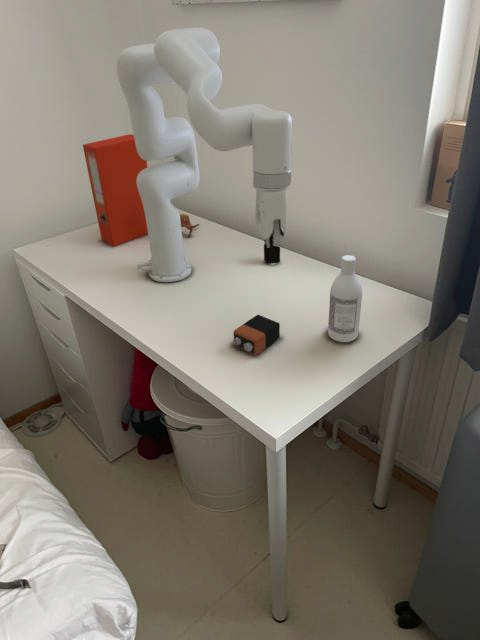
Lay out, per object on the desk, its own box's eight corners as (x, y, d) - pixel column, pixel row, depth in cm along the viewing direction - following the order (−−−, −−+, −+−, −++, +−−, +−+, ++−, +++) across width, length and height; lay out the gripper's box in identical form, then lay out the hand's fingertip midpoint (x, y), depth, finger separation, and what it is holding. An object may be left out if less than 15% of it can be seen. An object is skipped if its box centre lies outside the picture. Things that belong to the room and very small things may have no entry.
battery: (280, 338, 118) (253, 358, 112) (258, 328, 122) (230, 347, 115) (280, 322, 115) (253, 342, 109) (257, 313, 119) (229, 332, 113)
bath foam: (337, 323, 122) (342, 248, 111) (363, 333, 118) (371, 255, 107) (322, 336, 118) (326, 259, 107) (348, 346, 114) (355, 267, 103)
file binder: (156, 231, 177) (143, 137, 159) (114, 246, 167) (95, 148, 150) (143, 225, 182) (129, 133, 164) (101, 240, 172) (82, 144, 155)
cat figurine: (193, 225, 180) (189, 188, 172) (206, 229, 176) (203, 191, 169) (156, 243, 168) (150, 203, 161) (170, 247, 164) (165, 207, 157)
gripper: (247, 169, 105) (249, 249, 115) (260, 192, 92) (261, 279, 102) (282, 166, 106) (281, 245, 116) (299, 188, 93) (297, 276, 103)
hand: (271, 261), depth 109 cm, fingers closed
